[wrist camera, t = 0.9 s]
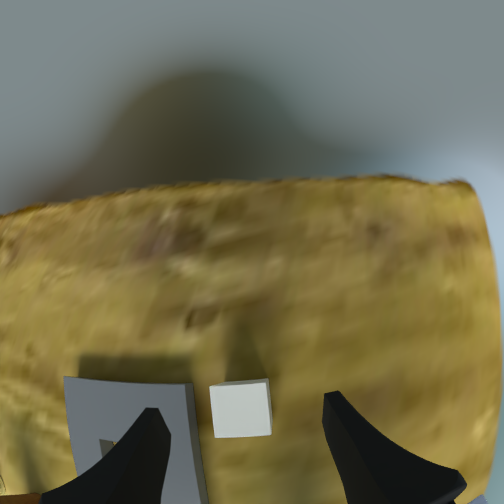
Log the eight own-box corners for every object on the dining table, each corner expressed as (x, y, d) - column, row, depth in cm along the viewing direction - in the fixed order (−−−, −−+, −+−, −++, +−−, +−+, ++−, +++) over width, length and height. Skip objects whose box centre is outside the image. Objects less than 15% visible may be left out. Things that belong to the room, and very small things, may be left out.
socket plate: (215, 533, 17) (210, 544, 14) (101, 511, 17) (90, 518, 15) (192, 383, 24) (184, 384, 21) (77, 377, 24) (63, 376, 22)
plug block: (272, 419, 22) (271, 434, 16) (228, 422, 22) (214, 437, 17) (268, 378, 24) (265, 382, 18) (224, 381, 24) (209, 386, 18)
